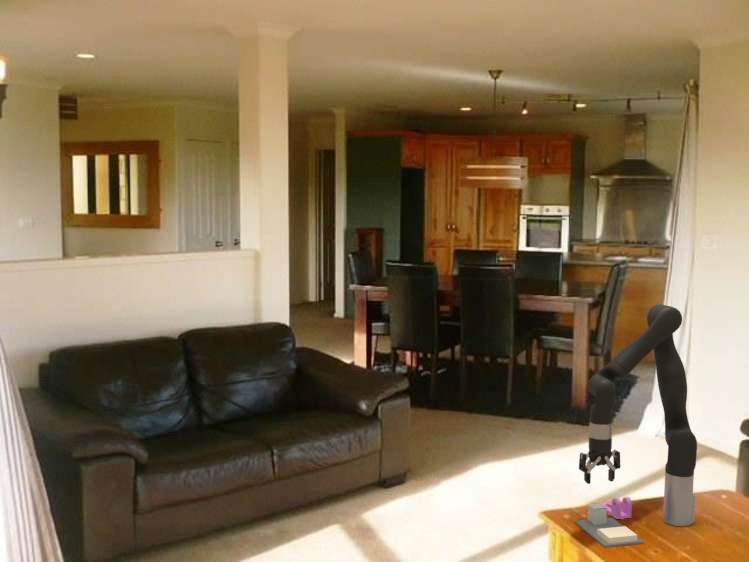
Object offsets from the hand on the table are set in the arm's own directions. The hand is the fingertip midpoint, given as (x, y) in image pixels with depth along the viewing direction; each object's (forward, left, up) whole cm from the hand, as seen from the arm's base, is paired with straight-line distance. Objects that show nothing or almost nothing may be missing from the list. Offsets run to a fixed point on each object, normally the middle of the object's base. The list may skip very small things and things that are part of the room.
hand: (599, 482), depth 290 cm
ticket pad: (0, +8, -15) cm, 17 cm away
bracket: (-11, -8, -15) cm, 20 cm away
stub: (0, 0, -15) cm, 15 cm away
